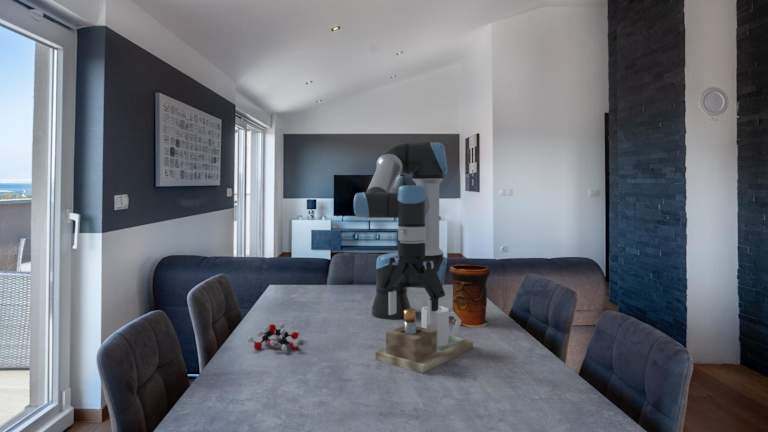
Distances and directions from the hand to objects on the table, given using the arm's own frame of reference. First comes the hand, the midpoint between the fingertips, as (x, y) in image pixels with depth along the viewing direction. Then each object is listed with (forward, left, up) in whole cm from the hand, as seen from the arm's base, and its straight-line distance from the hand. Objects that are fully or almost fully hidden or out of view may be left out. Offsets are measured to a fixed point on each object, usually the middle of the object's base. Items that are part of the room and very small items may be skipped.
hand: (411, 318), depth 128 cm
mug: (+1, +13, -10) cm, 16 cm away
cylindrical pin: (0, 0, -10) cm, 10 cm away
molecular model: (-38, -16, -12) cm, 43 cm away
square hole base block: (0, +7, -12) cm, 14 cm away
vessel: (-7, +44, -12) cm, 46 cm away
